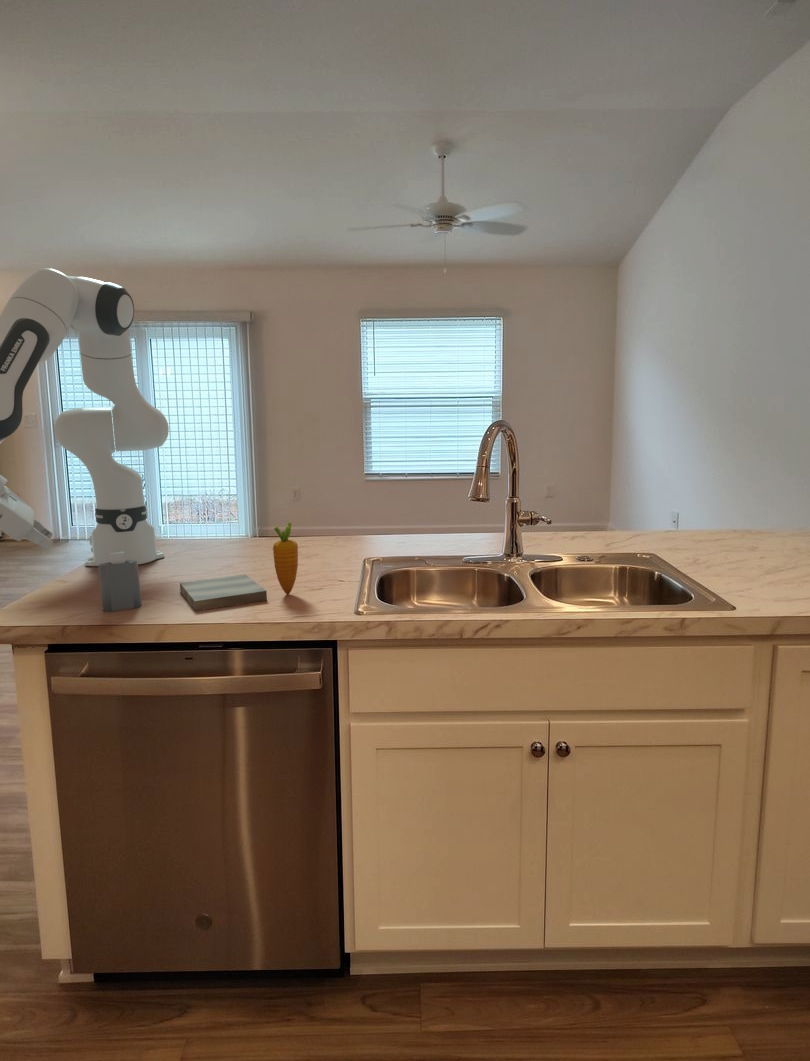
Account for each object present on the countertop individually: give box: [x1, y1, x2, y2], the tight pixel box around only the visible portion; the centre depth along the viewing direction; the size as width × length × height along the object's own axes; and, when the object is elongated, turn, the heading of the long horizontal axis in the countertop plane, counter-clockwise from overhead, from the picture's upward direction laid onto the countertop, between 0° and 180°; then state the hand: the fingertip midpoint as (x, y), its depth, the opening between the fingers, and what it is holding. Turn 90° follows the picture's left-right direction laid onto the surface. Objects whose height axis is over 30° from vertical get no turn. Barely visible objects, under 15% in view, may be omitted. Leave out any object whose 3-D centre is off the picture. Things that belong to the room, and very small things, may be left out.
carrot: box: [272, 521, 299, 596], centre depth 137 cm, size 5×5×15 cm
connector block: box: [97, 552, 142, 612], centre depth 130 cm, size 7×3×11 cm, turn 118°
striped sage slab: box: [179, 573, 268, 612], centre depth 138 cm, size 16×14×2 cm
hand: (50, 542), depth 123 cm, fingers open, 8 cm apart
